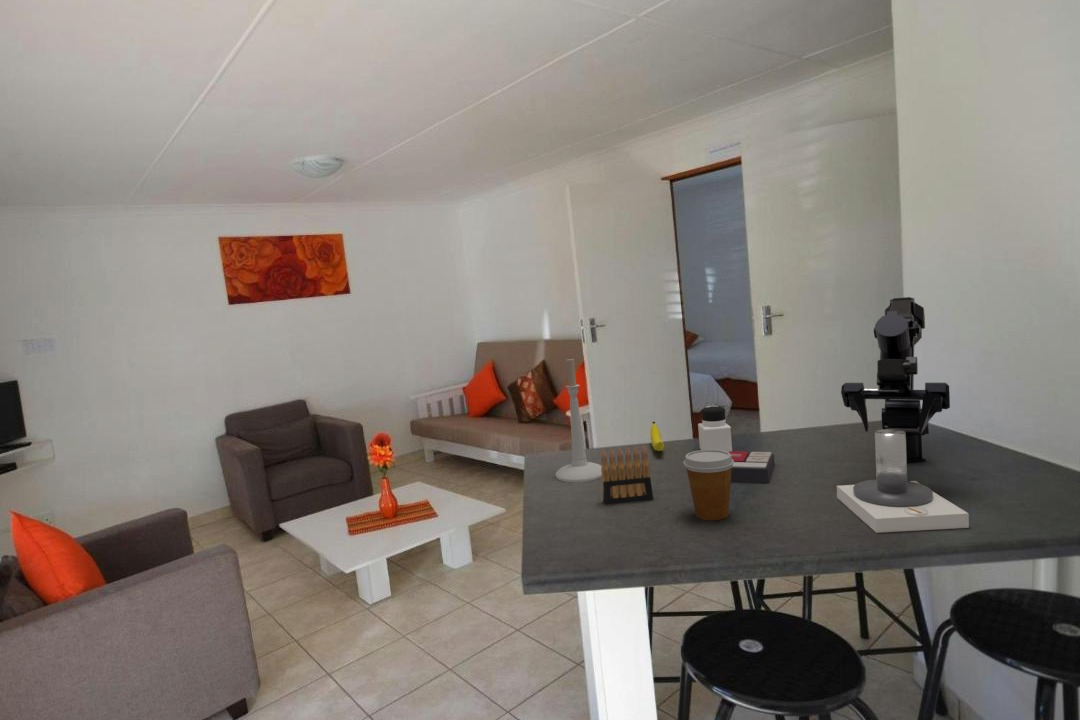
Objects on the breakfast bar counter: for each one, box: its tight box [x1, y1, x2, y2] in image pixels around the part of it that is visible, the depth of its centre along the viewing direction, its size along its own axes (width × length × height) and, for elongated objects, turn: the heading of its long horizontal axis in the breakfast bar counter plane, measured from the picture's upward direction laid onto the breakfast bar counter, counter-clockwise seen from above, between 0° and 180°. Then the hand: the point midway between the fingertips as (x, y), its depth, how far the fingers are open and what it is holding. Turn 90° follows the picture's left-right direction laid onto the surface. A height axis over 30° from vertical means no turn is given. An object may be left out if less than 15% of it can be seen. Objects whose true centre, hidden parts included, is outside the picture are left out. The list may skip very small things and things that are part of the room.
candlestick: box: [555, 358, 602, 483], centre depth 157 cm, size 13×13×30 cm
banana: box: [650, 421, 665, 452], centre depth 173 cm, size 3×19×6 cm, turn 175°
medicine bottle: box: [697, 405, 733, 452], centre depth 167 cm, size 7×7×12 cm
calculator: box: [728, 450, 775, 485], centre depth 147 cm, size 11×4×15 cm
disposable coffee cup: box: [683, 449, 734, 521], centre depth 122 cm, size 10×10×12 cm
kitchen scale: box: [836, 478, 970, 534], centre depth 115 cm, size 15×18×4 cm
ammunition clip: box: [600, 444, 654, 506], centre depth 135 cm, size 11×2×12 cm, turn 91°
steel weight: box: [874, 429, 908, 494], centre depth 117 cm, size 5×5×11 cm
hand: (892, 431), depth 122 cm, fingers open, 9 cm apart
